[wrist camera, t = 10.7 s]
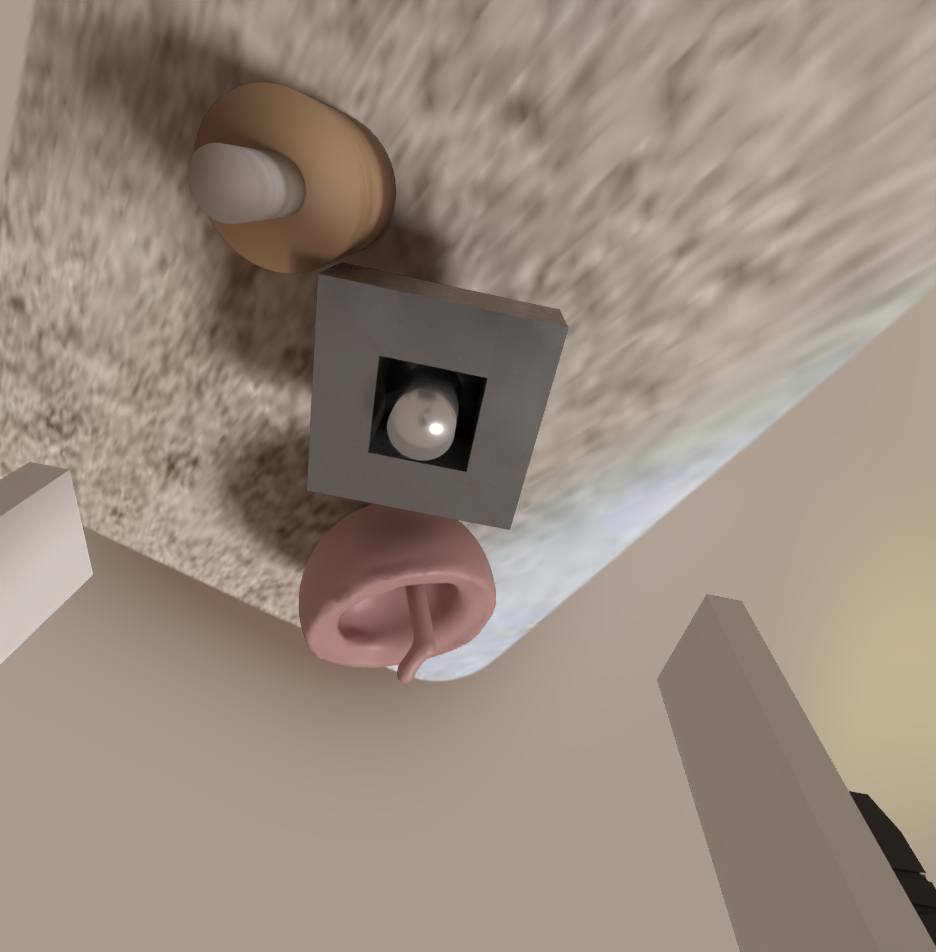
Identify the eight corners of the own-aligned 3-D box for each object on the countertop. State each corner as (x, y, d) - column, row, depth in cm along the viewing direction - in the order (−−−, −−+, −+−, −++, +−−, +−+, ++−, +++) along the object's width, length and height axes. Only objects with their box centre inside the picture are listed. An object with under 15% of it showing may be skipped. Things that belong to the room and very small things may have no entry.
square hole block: (341, 262, 23) (318, 274, 20) (559, 309, 24) (568, 327, 21) (327, 457, 28) (307, 490, 25) (508, 493, 28) (509, 529, 25)
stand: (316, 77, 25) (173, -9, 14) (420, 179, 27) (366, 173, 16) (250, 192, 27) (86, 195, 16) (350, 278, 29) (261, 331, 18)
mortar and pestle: (417, 624, 42) (391, 761, 32) (298, 535, 38) (227, 658, 28) (529, 543, 37) (540, 672, 27) (407, 433, 34) (368, 536, 24)
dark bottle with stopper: (436, 267, 29) (405, 306, 19) (527, 351, 31) (541, 425, 21) (363, 359, 31) (304, 435, 22) (451, 431, 33) (432, 529, 24)
